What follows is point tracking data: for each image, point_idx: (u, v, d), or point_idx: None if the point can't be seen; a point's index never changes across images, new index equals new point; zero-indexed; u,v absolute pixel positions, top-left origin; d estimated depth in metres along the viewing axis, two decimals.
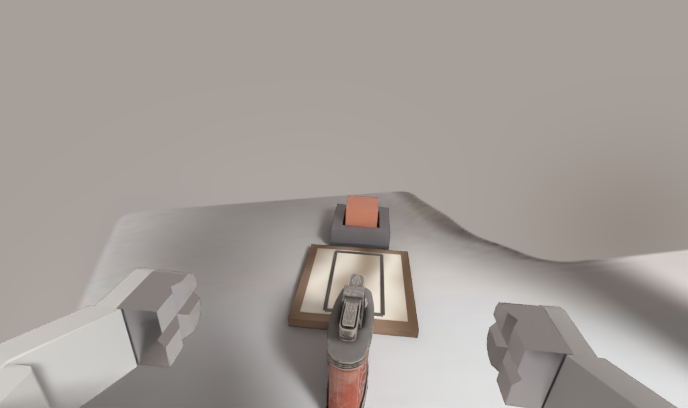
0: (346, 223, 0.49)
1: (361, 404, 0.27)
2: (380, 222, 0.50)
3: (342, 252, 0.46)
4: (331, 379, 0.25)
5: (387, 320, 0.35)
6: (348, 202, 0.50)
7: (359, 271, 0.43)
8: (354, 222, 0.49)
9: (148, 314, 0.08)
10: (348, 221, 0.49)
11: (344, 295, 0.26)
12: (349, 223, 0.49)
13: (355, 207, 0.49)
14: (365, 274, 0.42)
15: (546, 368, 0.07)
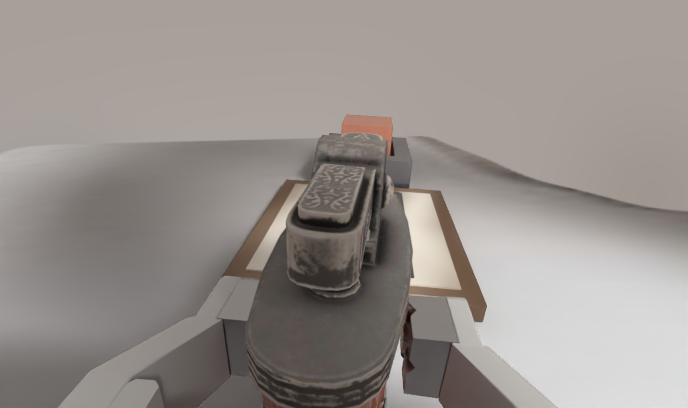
0: None
1: None
2: (395, 151, 0.32)
3: None
4: None
5: (420, 287, 0.18)
6: (346, 119, 0.32)
7: None
8: None
9: None
10: None
11: (320, 155, 0.08)
12: None
13: (356, 123, 0.31)
14: None
15: (436, 356, 0.08)
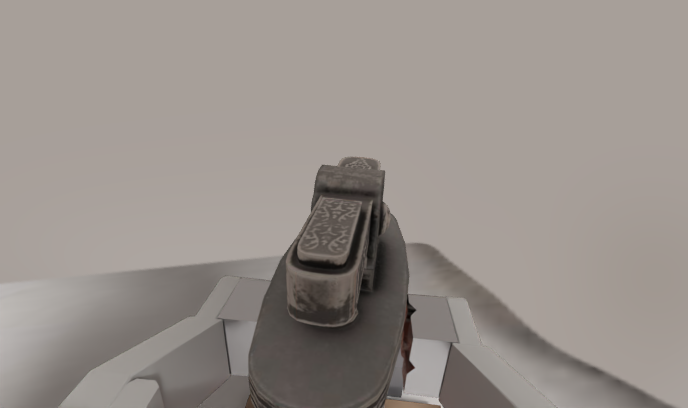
0: None
1: None
2: None
3: None
4: None
5: None
6: None
7: None
8: None
9: (249, 325, 0.08)
10: None
11: (319, 186, 0.08)
12: None
13: None
14: None
15: (436, 357, 0.08)
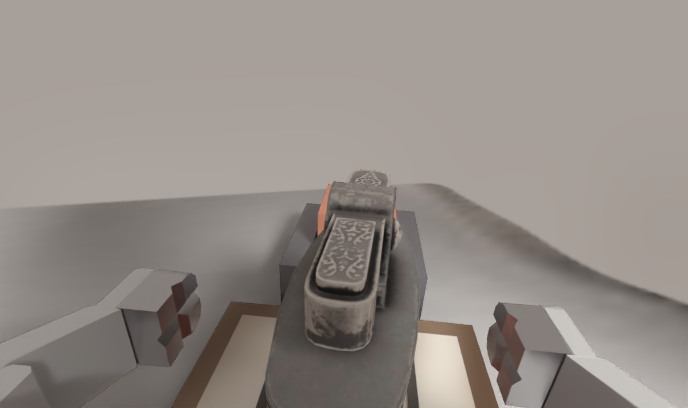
0: None
1: None
2: None
3: None
4: None
5: None
6: (326, 199, 0.21)
7: None
8: None
9: (148, 315, 0.08)
10: None
11: (332, 204, 0.08)
12: None
13: None
14: None
15: (546, 368, 0.07)
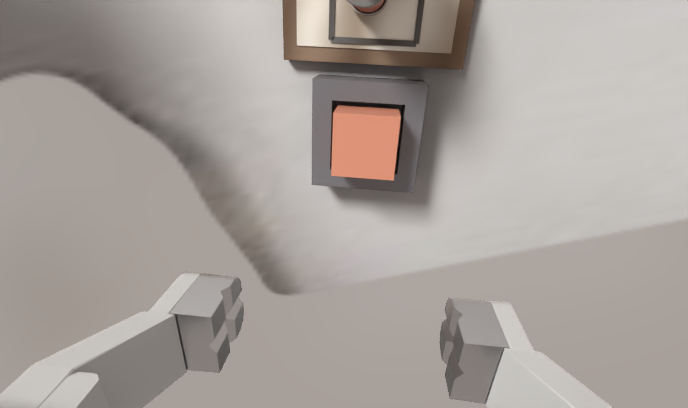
0: (396, 110, 0.25)
1: None
2: (329, 123, 0.26)
3: (404, 40, 0.25)
4: None
5: None
6: (394, 147, 0.23)
7: None
8: (381, 109, 0.25)
9: (201, 321, 0.08)
10: (393, 111, 0.24)
11: None
12: (391, 110, 0.25)
13: (380, 124, 0.23)
14: None
15: (486, 362, 0.08)
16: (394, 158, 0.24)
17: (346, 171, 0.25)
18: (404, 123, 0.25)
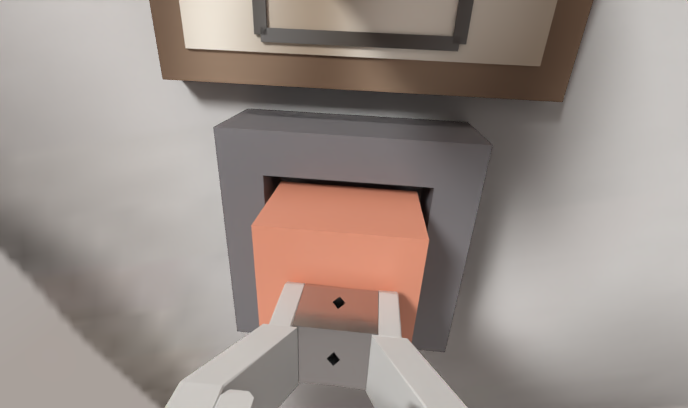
0: (414, 199, 0.11)
1: None
2: None
3: (430, 36, 0.10)
4: None
5: None
6: (411, 303, 0.09)
7: None
8: (377, 200, 0.10)
9: (324, 333, 0.08)
10: (405, 204, 0.10)
11: None
12: (400, 199, 0.11)
13: (375, 254, 0.09)
14: None
15: (358, 348, 0.08)
16: (410, 326, 0.10)
17: None
18: (430, 226, 0.11)
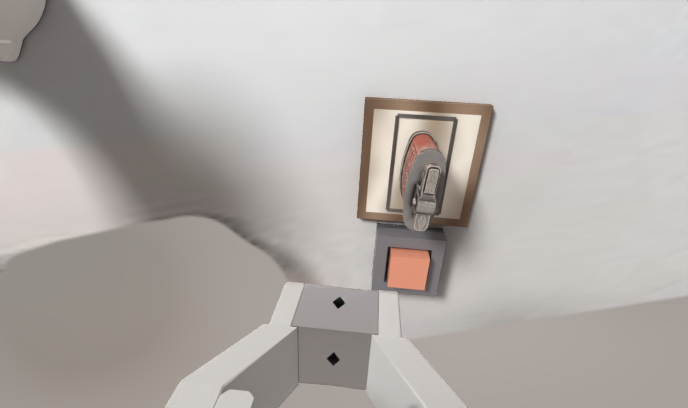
0: None
1: (408, 148, 0.37)
2: (385, 258, 0.42)
3: None
4: (437, 149, 0.33)
5: (393, 108, 0.36)
6: (425, 273, 0.41)
7: None
8: None
9: (324, 333, 0.08)
10: None
11: (434, 202, 0.30)
12: None
13: (418, 262, 0.40)
14: None
15: (359, 348, 0.08)
16: (425, 279, 0.41)
17: (396, 285, 0.42)
18: (431, 259, 0.41)
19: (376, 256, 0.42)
